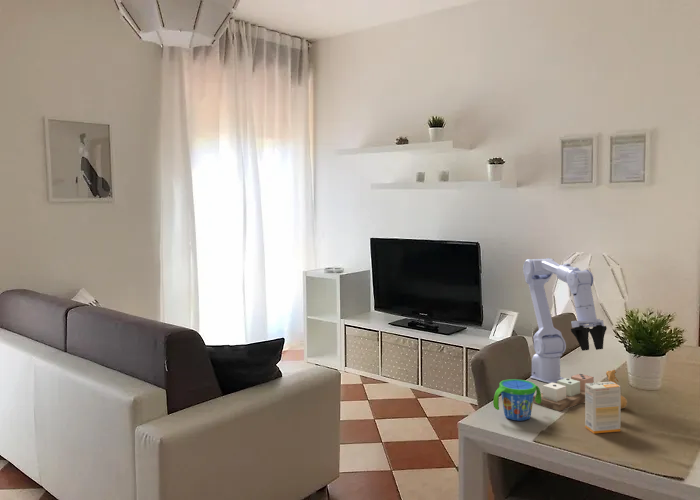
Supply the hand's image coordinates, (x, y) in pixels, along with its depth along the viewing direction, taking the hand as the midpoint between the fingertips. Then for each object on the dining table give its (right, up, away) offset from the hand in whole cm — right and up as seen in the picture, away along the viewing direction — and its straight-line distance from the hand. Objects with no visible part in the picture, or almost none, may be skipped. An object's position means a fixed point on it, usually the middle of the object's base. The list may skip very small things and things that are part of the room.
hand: (592, 349), depth 183 cm
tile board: (-5, -17, +6) cm, 19 cm away
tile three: (+1, -15, +10) cm, 18 cm away
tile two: (-5, -15, +6) cm, 17 cm away
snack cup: (-26, -19, -9) cm, 34 cm away
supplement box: (-6, -19, -20) cm, 28 cm away
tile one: (-12, -16, +1) cm, 19 cm away
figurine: (+6, -18, -3) cm, 19 cm away
